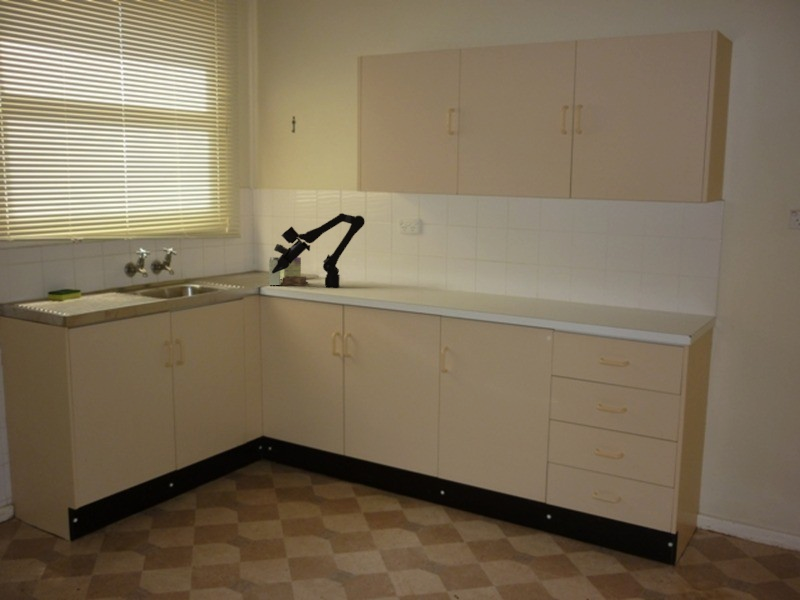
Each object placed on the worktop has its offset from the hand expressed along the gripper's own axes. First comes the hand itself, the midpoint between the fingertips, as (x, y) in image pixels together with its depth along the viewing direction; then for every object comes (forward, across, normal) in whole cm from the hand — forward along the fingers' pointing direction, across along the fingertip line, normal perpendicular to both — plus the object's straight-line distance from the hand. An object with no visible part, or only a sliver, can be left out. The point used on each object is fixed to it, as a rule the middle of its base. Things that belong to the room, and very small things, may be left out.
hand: (272, 272), depth 397 cm
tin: (+4, 0, +5) cm, 7 cm away
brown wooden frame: (-2, -6, +12) cm, 14 cm away
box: (+1, -25, +9) cm, 26 cm away
